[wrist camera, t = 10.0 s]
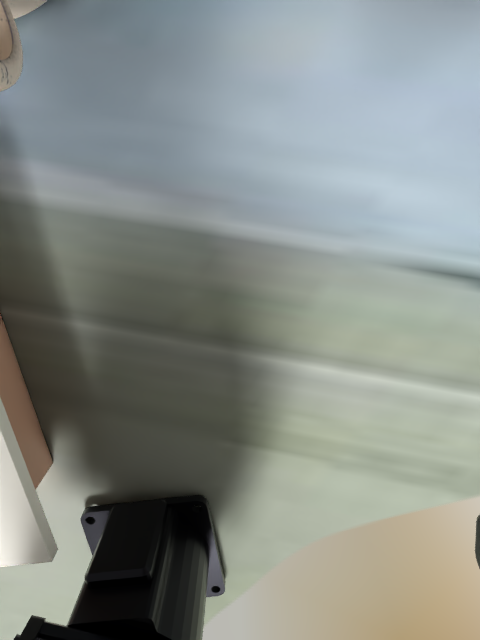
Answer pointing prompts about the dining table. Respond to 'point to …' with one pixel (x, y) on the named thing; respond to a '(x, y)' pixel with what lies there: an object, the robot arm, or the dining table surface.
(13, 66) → the teacup with lid
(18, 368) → the open box
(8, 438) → the cover board
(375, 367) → the dining table surface
